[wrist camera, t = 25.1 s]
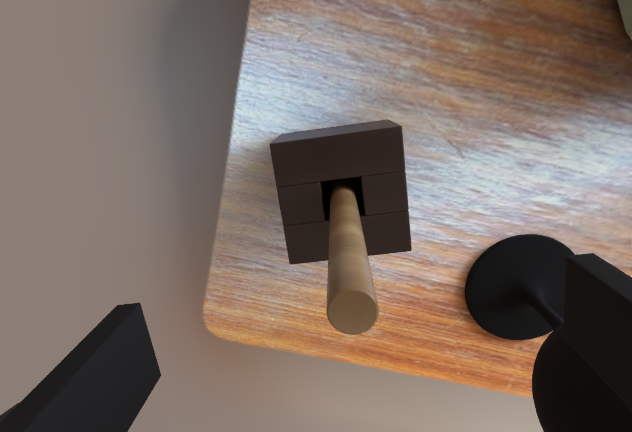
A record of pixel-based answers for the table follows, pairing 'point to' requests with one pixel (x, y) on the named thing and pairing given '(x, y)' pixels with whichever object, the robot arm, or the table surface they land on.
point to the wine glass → (542, 332)
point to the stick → (348, 265)
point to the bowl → (626, 15)
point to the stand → (339, 163)
